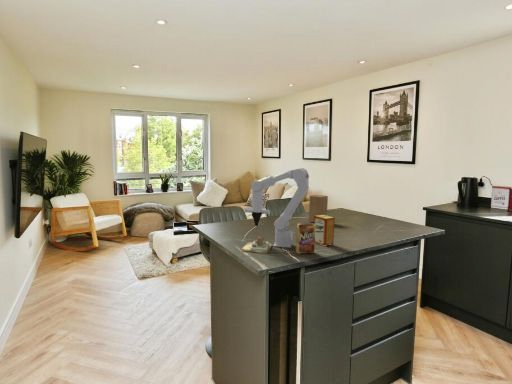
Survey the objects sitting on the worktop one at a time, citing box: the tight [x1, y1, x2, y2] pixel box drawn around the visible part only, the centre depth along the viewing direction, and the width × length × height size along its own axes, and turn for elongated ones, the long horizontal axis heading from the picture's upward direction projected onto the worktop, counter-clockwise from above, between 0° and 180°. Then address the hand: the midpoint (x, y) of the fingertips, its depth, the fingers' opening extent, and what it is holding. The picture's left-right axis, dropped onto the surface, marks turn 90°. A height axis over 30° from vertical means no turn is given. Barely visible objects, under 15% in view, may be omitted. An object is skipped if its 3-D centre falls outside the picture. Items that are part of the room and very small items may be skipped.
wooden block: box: [308, 194, 329, 223], centre depth 244 cm, size 10×10×20 cm
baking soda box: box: [314, 214, 335, 246], centre depth 185 cm, size 10×6×16 cm
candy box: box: [295, 222, 316, 255], centre depth 166 cm, size 9×4×15 cm, turn 93°
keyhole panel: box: [251, 236, 270, 251], centre depth 173 cm, size 8×13×5 cm, turn 174°
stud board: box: [240, 239, 273, 254], centre depth 173 cm, size 13×13×3 cm
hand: (256, 225), depth 185 cm, fingers closed
